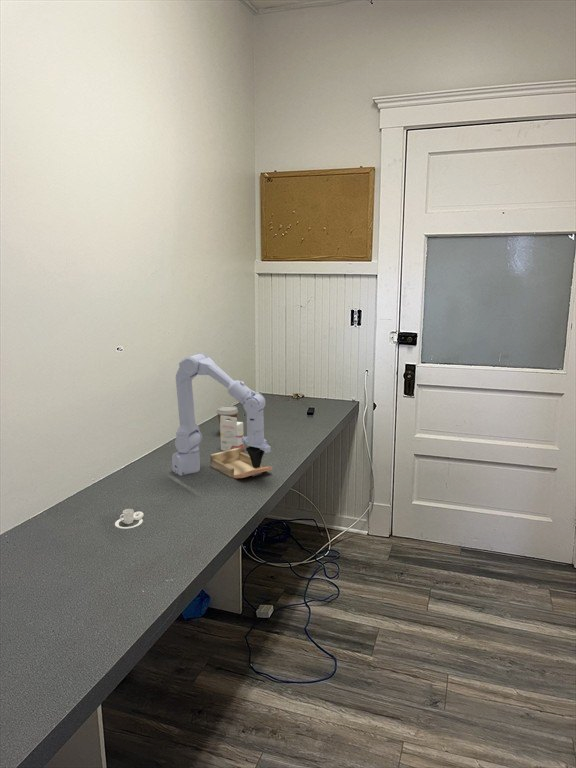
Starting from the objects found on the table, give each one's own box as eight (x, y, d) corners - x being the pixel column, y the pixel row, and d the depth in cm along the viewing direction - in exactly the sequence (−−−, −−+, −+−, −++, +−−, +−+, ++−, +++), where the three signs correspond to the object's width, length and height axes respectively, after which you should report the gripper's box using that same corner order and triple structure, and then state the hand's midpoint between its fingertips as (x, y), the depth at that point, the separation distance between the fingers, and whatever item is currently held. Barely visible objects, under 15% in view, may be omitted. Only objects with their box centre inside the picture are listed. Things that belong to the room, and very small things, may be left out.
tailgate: (234, 480, 195) (243, 479, 190) (233, 475, 195) (242, 474, 190) (263, 471, 203) (273, 470, 198) (262, 467, 203) (272, 466, 198)
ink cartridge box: (244, 449, 229) (243, 414, 226) (238, 453, 225) (237, 418, 222) (227, 446, 233) (226, 412, 230) (220, 450, 229) (219, 415, 226)
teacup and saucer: (141, 515, 172) (140, 502, 171) (148, 525, 165) (147, 512, 164) (112, 521, 168) (111, 508, 167) (118, 532, 161) (117, 519, 160)
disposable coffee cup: (216, 437, 245) (215, 411, 242) (218, 431, 254) (217, 405, 252) (238, 437, 245) (237, 410, 243) (239, 430, 254) (238, 405, 252)
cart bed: (231, 481, 196) (231, 465, 195) (210, 470, 207) (210, 454, 206) (261, 472, 204) (261, 457, 203) (240, 462, 215) (239, 447, 214)
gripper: (277, 432, 188) (278, 470, 191) (252, 422, 200) (253, 458, 203) (260, 436, 184) (261, 475, 187) (236, 426, 195) (237, 463, 198)
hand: (256, 467), depth 195 cm, fingers closed
